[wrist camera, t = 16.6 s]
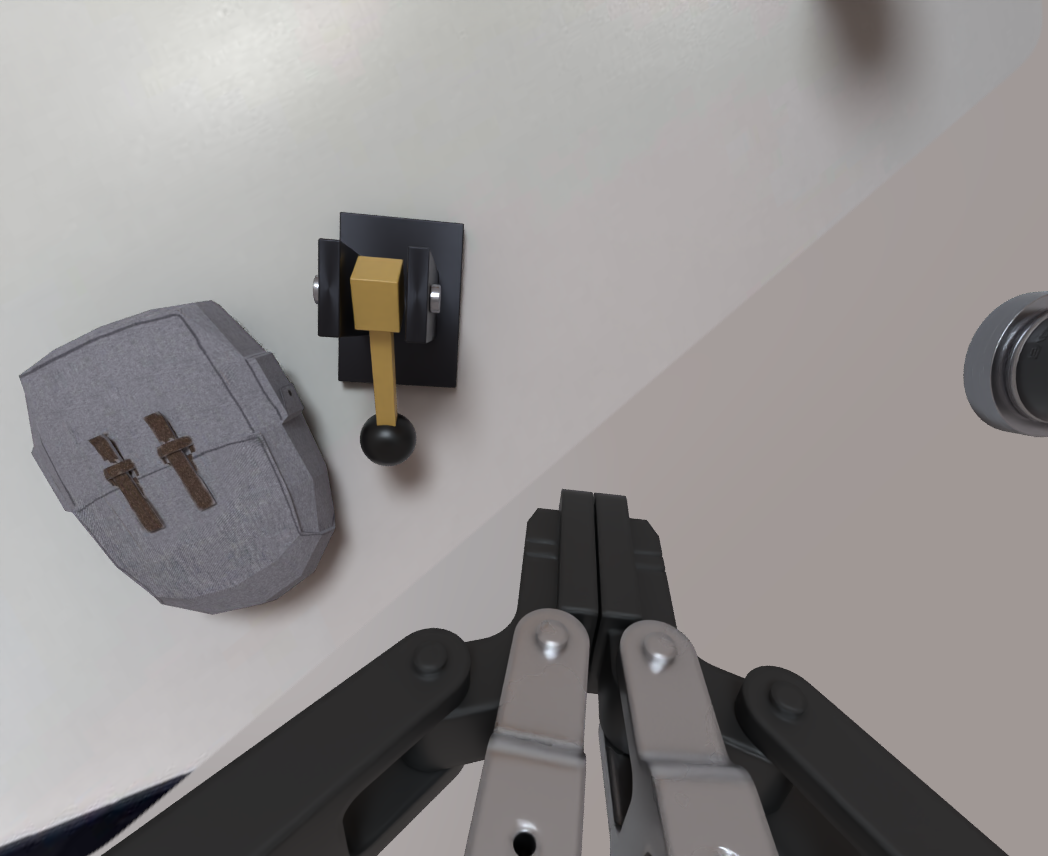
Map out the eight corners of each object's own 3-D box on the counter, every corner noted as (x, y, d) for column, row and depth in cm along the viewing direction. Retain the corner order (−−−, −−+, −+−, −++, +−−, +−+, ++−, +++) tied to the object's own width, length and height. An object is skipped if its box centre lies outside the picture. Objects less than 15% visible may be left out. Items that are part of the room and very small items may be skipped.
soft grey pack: (42, 368, 36) (197, 618, 40) (-82, 380, 27) (130, 692, 32) (256, 279, 36) (386, 535, 40) (197, 265, 28) (368, 587, 32)
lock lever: (418, 440, 36) (414, 478, 34) (366, 438, 36) (358, 476, 33) (416, 255, 27) (410, 288, 25) (347, 249, 27) (333, 282, 24)
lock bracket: (456, 386, 39) (454, 413, 27) (341, 379, 38) (284, 404, 26) (463, 226, 37) (465, 175, 25) (343, 215, 36) (282, 155, 24)
